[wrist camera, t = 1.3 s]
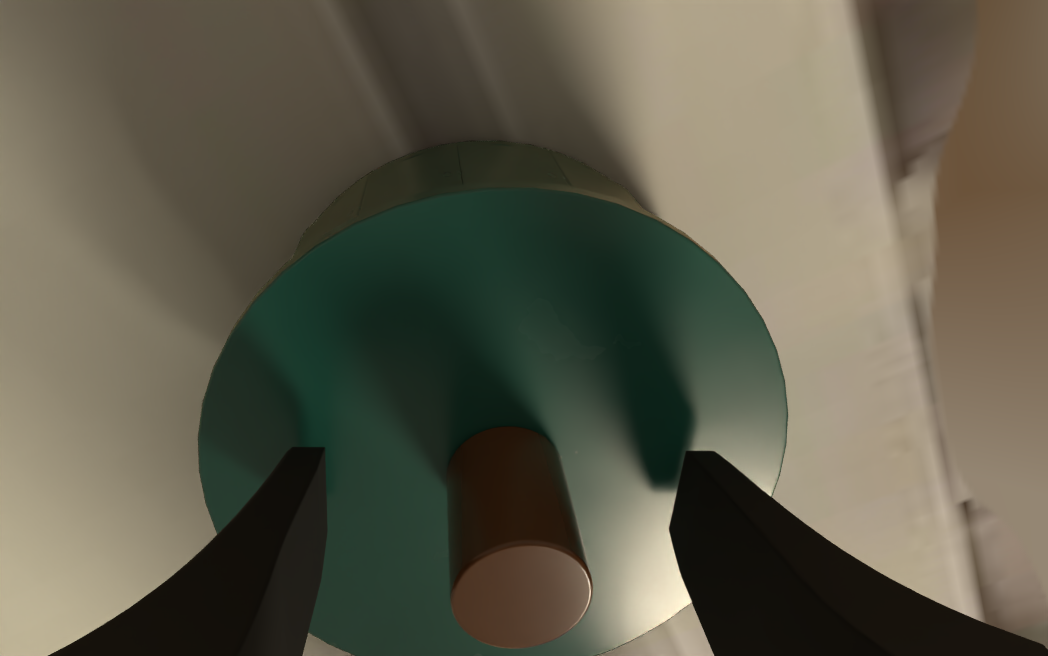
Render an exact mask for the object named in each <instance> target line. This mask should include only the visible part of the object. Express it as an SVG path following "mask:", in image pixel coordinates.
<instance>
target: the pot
mask: <svg viewBox="0 0 1048 656" xmlns="http://www.w3.org/2000/svg"><path fill="white" fill-rule="evenodd" d="M483 181H533V182H541V183H549V184H557V185H565V186H573V187H576V188H580V189H584V190H588V191H592V192H595V193H599V194H603V195H607V196H611V197H614V198H616V199H619V200H621V201H624V202H626V203H628V204H631V205H633V206H636V207H638V208H641V209H643V208H642V207H641V206H640V205H639V203H638V202H637V201H636V200H635V199H634V197H633V196H632V195H631V194H630V193H629V191H628V190H627V189H626V188H624V187H623V186H622V185H620V184H618V183H616V182H614V181H612V180H610V179H609V178H608V177H606V176H604V175H603V174H601V173H599V172H598V171H596V170H594V169H593V168H591V167H589V166H588V165H586V164H584V163H582V162H580V161H578V160H575V159H573V158H571V157H568V156H566V155H564V154H561V153H559V152H556V151H552V150H548V149H546V148H541V147H537V146H534V145H530V144H522V143H515V142H507V141H466V142H458V143H451V144H443V145H439V146H435V147H431V148H428V149H424V150H420V151H417V152H413V153H411V154H408V155H406V156H403V157H401V158H399V159H396V160H394V161H392V162H389V163H387V164H385V165H383V166H381V167H380V168H378V169H376V170H374V171H371V172H370V174H367V175H366V176H364V177H363V178H361V179H360V180H359V181H357V182H356V183H355V184H353V185H352V186H351V187H350V188H348V189H347V190H346V191H345V192H343V193H342V194H341V195H340V196H338V197H337V198H336V200H335V201H334V202H333V203H332V204H331V205H330V206H329V207H328V208H327V209H326V210H325V211H324V212H323V213H322V214H321V215H320V216H319V218H318V219H317V220H316V221H315V222H314V223H313V224H312V225H311V226H310V227H309V228H308V229H306V231H305V233H304V234H303V236H302V238H301V240H300V242H299V245H298V247H297V249H296V251H295V253H294V256H293V257H295V256H296V255H297V254H298V253H300V252H301V251H302V250H304V249H305V248H306V247H307V246H309V245H310V244H311V243H312V242H314V241H315V240H316V239H318V238H319V237H321V236H322V235H324V234H326V233H328V232H329V231H331V230H333V229H334V228H336V227H338V226H340V225H341V224H343V223H345V222H347V221H348V220H350V219H352V218H353V217H355V216H357V215H360V214H362V213H364V212H367V211H369V210H372V209H374V208H376V207H379V206H381V205H384V204H386V203H389V202H391V201H393V200H396V199H399V198H403V197H406V196H410V195H414V194H417V193H421V192H425V191H429V190H432V189H436V188H440V187H447V186H454V185H461V184H469V183H476V182H483ZM643 210H644V209H643Z"/></svg>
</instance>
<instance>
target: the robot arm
mask: <svg viewBox="0 0 1048 656" xmlns="http://www.w3.org/2000/svg"><path fill="white" fill-rule="evenodd" d="M327 531H328V530H327V495H326V461H325V447H292V448H291V449H289V450H288V451H287V452H286V453H285V455H284V456H283V458H282V459H281V460H280V462H279V463H278V465H277V466H276V467H275V469H274V470H273V471H272V473H271V474H270V475H269V477H268V478H267V479H266V480H265V482H264V483H263V484H262V485H261V487H260V488H259V489H258V490H257V491H256V493H255V494H254V495H253V496H252V497H251V498H250V500H249V501H248V502H247V503H246V504H245V505H244V507H243V508H242V509H241V510H240V511H239V512H238V513H237V515H236V516H235V517H234V518H233V519H232V520H231V521H230V522H229V523H228V524H227V525H226V526H225V527H224V528H223V529H222V530H221V531H220V532H219V533H218V534H217V535H216V536H215V537H214V538H213V540H212V541H211V542H210V543H209V544H208V545H206V546H205V547H204V548H203V549H202V550H201V551H200V552H199V553H198V554H197V555H196V556H195V557H194V558H192V559H191V560H190V561H189V562H188V563H187V564H186V565H184V566H183V567H182V568H181V569H180V570H179V571H177V572H176V573H175V574H174V575H173V576H172V577H170V578H169V579H168V580H167V581H165V582H164V583H163V584H161V585H160V586H159V587H157V588H156V589H155V590H153V591H152V592H151V593H149V594H148V595H147V596H145V597H144V598H142V599H141V600H140V601H138V602H137V603H136V604H134V605H133V606H131V607H130V608H129V609H127V610H126V611H124V612H122V613H121V614H119V615H118V616H116V617H115V618H113V619H112V620H110V621H108V622H107V623H105V624H104V625H102V626H100V627H99V628H97V629H95V630H94V631H92V632H90V633H89V634H87V635H85V636H84V637H82V638H80V639H78V640H77V641H75V642H73V643H71V644H70V645H68V646H66V647H64V648H62V649H60V650H58V651H56V652H54V653H52V654H50V655H48V656H302V654H303V650H304V646H305V642H306V639H307V635H308V631H309V627H310V623H311V619H312V615H313V611H314V607H315V603H316V599H317V595H318V591H319V587H320V583H321V578H322V571H323V563H324V556H325V548H326V539H327ZM669 533H670V537H671V541H672V545H673V549H674V553H675V557H676V560H677V564H678V567H679V571H680V574H681V577H682V579H683V582H684V584H685V587H686V589H687V592H688V594H689V597H690V599H691V601H692V604H693V606H694V609H695V611H696V613H697V616H698V618H699V620H700V623H701V625H702V628H703V630H704V632H705V635H706V637H707V639H708V642H709V644H710V647H711V649H712V651H713V654H714V656H1048V650H1047V648H1046V647H1045V646H1044V645H1043V644H1040V643H1037V642H1035V641H1032V640H1029V639H1026V638H1024V637H1021V636H1018V635H1016V634H1013V633H1010V632H1007V631H1005V630H1002V629H999V628H996V627H994V626H991V625H988V624H986V623H983V622H981V621H978V620H976V619H973V618H971V617H969V616H967V615H964V614H962V613H960V612H957V611H955V610H953V609H950V608H948V607H946V606H944V605H942V604H939V603H937V602H935V601H933V600H931V599H929V598H927V597H925V596H923V595H921V594H919V593H917V592H915V591H913V590H911V589H909V588H907V587H905V586H903V585H901V584H900V583H898V582H896V581H894V580H892V579H890V578H888V577H886V576H885V575H883V574H881V573H879V572H878V571H876V570H874V569H872V568H871V567H869V566H868V565H866V564H864V563H863V562H861V561H859V560H858V559H856V558H855V557H853V556H851V555H850V554H848V553H847V552H845V551H843V550H842V549H840V548H839V547H837V546H836V545H834V544H833V543H831V542H830V541H828V540H827V539H826V538H824V537H823V536H822V535H820V534H819V533H817V532H816V531H815V530H813V529H812V528H810V527H809V526H808V525H806V524H805V523H804V522H802V521H801V520H800V519H798V518H797V517H796V516H794V515H793V514H792V513H790V512H789V511H788V510H787V509H785V508H784V507H783V506H782V505H780V504H779V503H778V502H777V501H775V500H774V499H773V498H772V497H770V496H769V495H768V494H767V493H766V492H764V491H763V490H762V489H761V488H760V487H758V486H757V485H756V484H755V483H754V482H752V481H751V480H750V479H749V478H748V477H746V476H745V475H744V474H743V473H742V472H740V471H739V470H738V469H737V468H736V467H734V466H733V465H732V464H731V463H729V462H728V461H727V460H726V459H724V458H723V457H722V456H721V455H719V454H718V453H717V452H715V451H686V452H685V457H684V461H683V466H682V470H681V475H680V480H679V484H678V489H677V493H676V498H675V503H674V507H673V512H672V516H671V521H670V525H669Z"/></svg>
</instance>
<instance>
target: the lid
mask: <svg viewBox="0 0 1048 656" xmlns="http://www.w3.org/2000/svg"><path fill="white" fill-rule="evenodd" d="M787 422H788V408H787V397H786V387H785V379H784V376H783V372H782V368H781V364H780V360H779V356H778V353H777V349H776V347H775V345H774V342H773V340H772V338H771V336H770V333H769V331H768V329H767V327H766V324H765V322H764V320H763V318H762V317H761V315H760V314H759V312H758V310H757V309H756V307H755V306H754V304H753V303H752V301H751V300H750V298H749V297H748V295H747V294H746V292H745V291H744V289H743V288H742V287H741V286H740V285H739V284H738V283H737V282H736V281H735V279H734V278H733V277H732V276H731V275H730V274H729V273H728V272H727V271H726V269H725V268H724V267H723V266H722V265H721V264H720V263H719V262H718V261H717V260H716V259H715V258H714V256H712V255H711V254H710V253H709V252H708V251H706V250H705V249H704V248H703V247H701V246H700V245H699V244H698V243H696V242H695V241H694V240H693V239H692V238H690V237H689V236H688V235H687V234H685V233H684V232H682V231H681V230H679V229H677V228H676V227H674V226H672V225H671V224H669V223H667V222H666V221H664V220H662V219H660V218H659V217H657V216H655V215H654V214H652V213H650V212H648V211H645V210H643V209H641V208H638V207H636V206H633V205H631V204H628V203H626V202H624V201H621V200H619V199H616V198H614V197H611V196H607V195H603V194H599V193H595V192H592V191H588V190H584V189H580V188H576V187H573V186H565V185H557V184H549V183H541V182H533V181H483V182H476V183H469V184H461V185H454V186H447V187H440V188H436V189H432V190H429V191H425V192H421V193H417V194H414V195H410V196H406V197H403V198H399V199H396V200H393V201H391V202H389V203H386V204H384V205H381V206H379V207H376V208H374V209H372V210H369V211H367V212H364V213H362V214H360V215H357V216H355V217H353V218H352V219H350V220H348V221H347V222H345V223H343V224H341V225H340V226H338V227H336V228H334V229H333V230H331V231H329V232H328V233H326V234H324V235H322V236H321V237H319V238H318V239H316V240H315V241H314V242H312V243H311V244H310V245H309V246H307V247H306V248H305V249H304V250H302V251H301V252H300V253H298V254H297V255H296V256H295V257H293V258H292V259H291V260H289V261H288V262H287V263H286V264H285V265H284V266H283V267H282V268H281V269H280V270H279V271H278V272H277V273H276V274H275V275H274V276H273V277H272V278H271V279H270V280H269V281H268V282H267V283H266V284H265V285H264V286H263V288H262V289H261V290H260V291H259V292H258V293H257V294H256V295H255V297H254V298H253V300H252V301H251V303H250V304H249V305H248V307H247V308H246V310H245V311H244V312H243V314H242V315H241V317H240V318H239V319H238V321H237V322H236V324H235V325H234V327H233V329H232V331H231V333H230V335H229V337H228V339H227V341H226V343H225V345H224V347H223V349H222V351H221V353H220V355H219V357H218V359H217V361H216V363H215V365H214V367H213V370H212V373H211V377H210V380H209V383H208V386H207V389H206V393H205V396H204V399H203V403H202V410H201V417H200V425H199V432H198V456H199V473H200V478H201V483H202V488H203V493H204V498H205V503H206V506H207V508H208V511H209V514H210V516H211V519H212V522H213V524H214V527H215V530H216V532H217V534H218V533H219V532H220V531H221V530H222V529H223V528H224V527H225V526H226V525H227V524H228V523H229V522H230V521H231V520H232V519H233V518H234V517H235V516H236V515H237V513H238V512H239V511H240V510H241V509H242V508H243V507H244V505H245V504H246V503H247V502H248V501H249V500H250V498H251V497H252V496H253V495H254V494H255V493H256V491H257V490H258V489H259V488H260V487H261V485H262V484H263V483H264V482H265V480H266V479H267V478H268V477H269V475H270V474H271V473H272V471H273V470H274V469H275V467H276V466H277V465H278V463H279V462H280V460H281V459H282V458H283V456H284V455H285V453H286V452H287V451H288V450H289V449H291V448H292V447H325V461H326V495H327V530H328V531H327V539H326V548H325V556H324V563H323V571H322V578H321V583H320V587H319V591H318V595H317V599H316V603H315V607H314V611H313V615H312V619H311V623H310V627H309V631H308V633H310V634H312V635H313V636H315V637H317V638H319V639H320V640H322V641H324V642H326V643H327V644H329V645H332V646H334V647H336V648H338V649H341V650H343V651H345V652H348V653H350V654H352V655H354V656H597V655H600V654H602V653H605V652H608V651H611V650H613V649H615V648H617V647H619V646H621V645H623V644H626V643H628V642H630V641H632V640H634V639H636V638H638V637H640V636H642V635H644V634H646V633H647V632H649V631H651V630H652V629H654V628H656V627H657V626H659V625H661V624H662V623H664V622H666V621H667V620H669V619H670V618H672V617H673V616H674V615H676V614H677V613H678V612H680V611H681V610H682V609H684V608H685V607H686V606H688V605H689V604H691V603H692V601H691V599H690V597H689V594H688V592H687V589H686V587H685V584H684V582H683V579H682V577H681V574H680V571H679V567H678V564H677V560H676V557H675V553H674V549H673V545H672V541H671V537H670V533H669V525H670V521H671V516H672V512H673V507H674V503H675V498H676V493H677V489H678V484H679V480H680V475H681V470H682V466H683V461H684V457H685V452H686V451H715V452H717V453H718V454H719V455H721V456H722V457H723V458H724V459H726V460H727V461H728V462H729V463H731V464H732V465H733V466H734V467H736V468H737V469H738V470H739V471H740V472H742V473H743V474H744V475H745V476H746V477H748V478H749V479H750V480H751V481H752V482H754V483H755V484H756V485H757V486H758V487H760V488H761V489H762V490H763V491H764V492H766V493H767V494H768V495H769V496H770V497H772V495H773V492H774V489H775V487H776V484H777V481H778V478H779V476H780V472H781V467H782V462H783V457H784V453H785V448H786V439H787Z"/></svg>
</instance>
